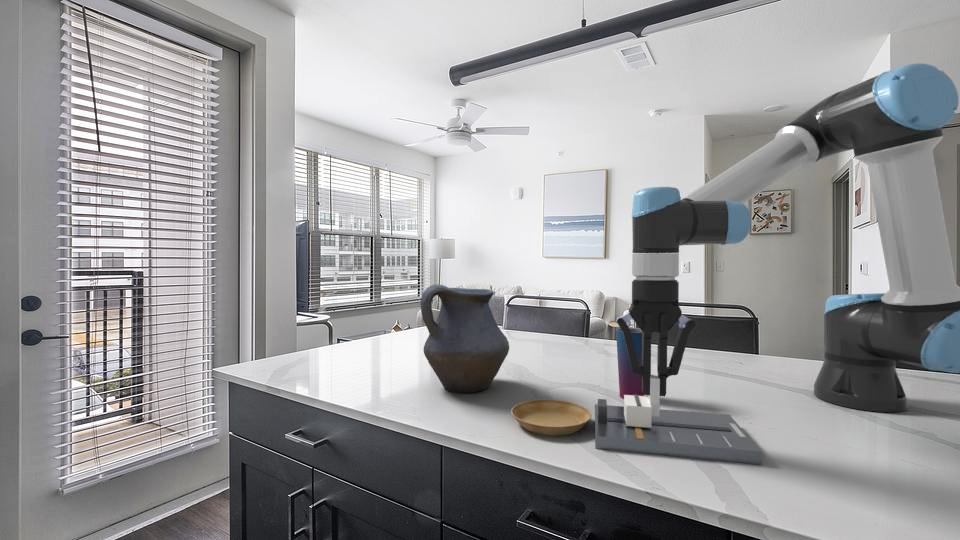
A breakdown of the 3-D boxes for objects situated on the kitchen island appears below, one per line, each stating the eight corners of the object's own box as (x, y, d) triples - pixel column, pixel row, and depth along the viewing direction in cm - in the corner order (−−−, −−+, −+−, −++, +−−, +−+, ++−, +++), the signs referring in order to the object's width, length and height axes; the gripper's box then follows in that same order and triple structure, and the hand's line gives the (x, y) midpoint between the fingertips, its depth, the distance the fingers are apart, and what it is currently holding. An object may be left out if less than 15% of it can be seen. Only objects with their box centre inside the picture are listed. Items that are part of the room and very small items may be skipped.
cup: (650, 403, 94) (651, 332, 94) (617, 401, 95) (617, 331, 95) (645, 393, 101) (645, 327, 100) (614, 391, 102) (614, 327, 102)
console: (729, 425, 81) (729, 398, 81) (761, 464, 66) (762, 431, 66) (594, 414, 87) (594, 389, 87) (595, 448, 72) (595, 417, 72)
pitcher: (527, 390, 103) (527, 283, 102) (446, 408, 91) (445, 287, 90) (477, 372, 120) (477, 280, 119) (404, 385, 108) (403, 282, 107)
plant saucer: (495, 422, 84) (495, 408, 84) (549, 406, 93) (549, 394, 93) (552, 449, 72) (552, 433, 72) (608, 428, 81) (608, 413, 81)
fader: (647, 415, 80) (647, 395, 80) (651, 427, 74) (651, 406, 74) (623, 413, 81) (624, 393, 81) (626, 425, 75) (626, 404, 75)
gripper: (691, 277, 78) (689, 409, 79) (614, 277, 82) (613, 403, 82) (701, 279, 71) (699, 425, 72) (616, 279, 74) (615, 418, 75)
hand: (653, 413), depth 77 cm, fingers closed
